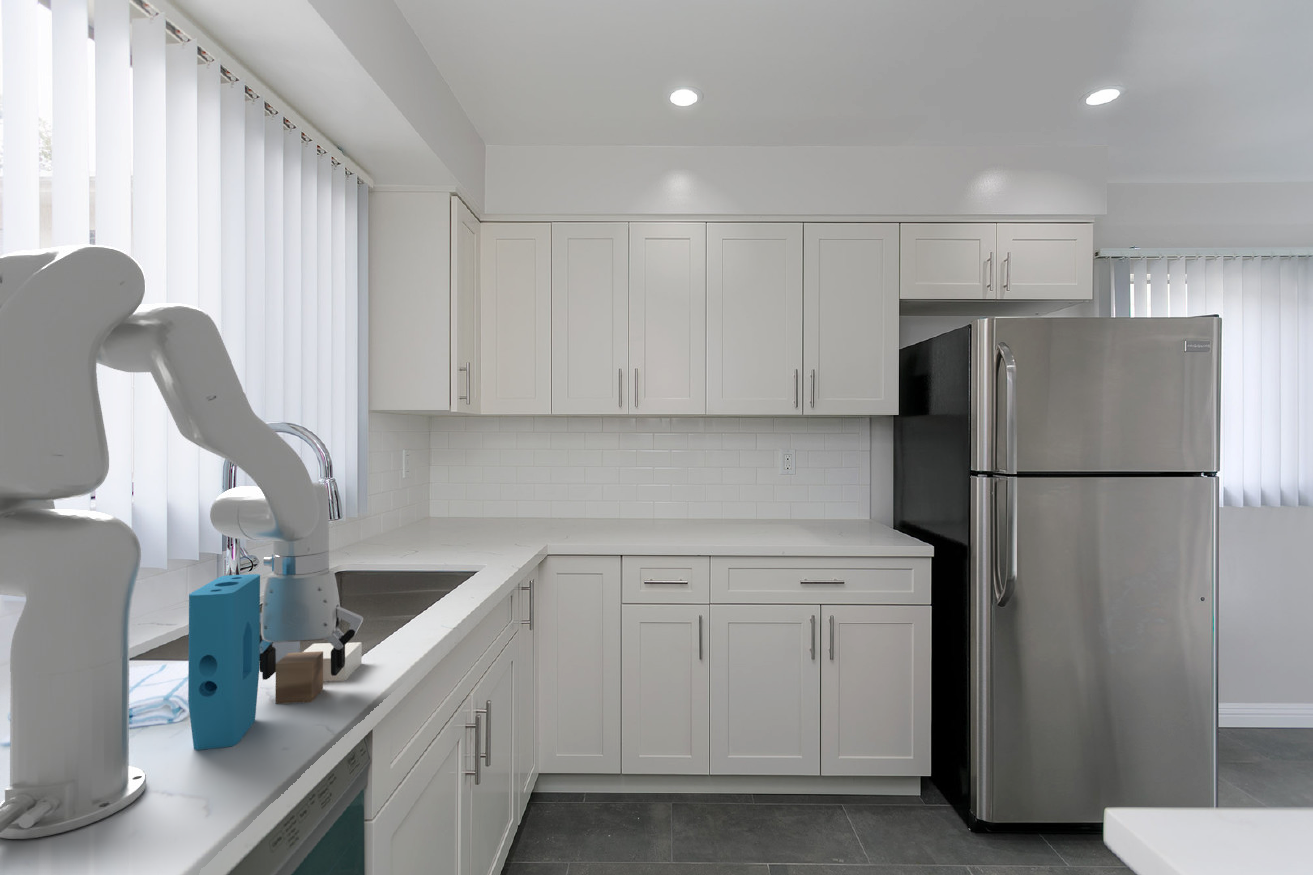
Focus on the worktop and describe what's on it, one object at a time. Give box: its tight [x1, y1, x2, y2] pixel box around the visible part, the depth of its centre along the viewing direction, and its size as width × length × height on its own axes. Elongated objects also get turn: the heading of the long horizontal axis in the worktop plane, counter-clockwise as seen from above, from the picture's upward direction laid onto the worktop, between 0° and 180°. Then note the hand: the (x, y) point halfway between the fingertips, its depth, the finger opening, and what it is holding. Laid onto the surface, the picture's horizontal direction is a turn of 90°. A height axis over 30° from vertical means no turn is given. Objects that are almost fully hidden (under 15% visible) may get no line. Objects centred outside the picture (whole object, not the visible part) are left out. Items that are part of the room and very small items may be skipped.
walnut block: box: [274, 651, 324, 705], centre depth 100 cm, size 5×5×6 cm
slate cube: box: [272, 641, 301, 663], centre depth 116 cm, size 5×5×5 cm
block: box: [187, 573, 261, 751], centre depth 87 cm, size 12×5×20 cm, turn 16°
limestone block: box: [302, 642, 363, 682], centre depth 110 cm, size 8×8×4 cm
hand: (303, 674), depth 101 cm, fingers open, 9 cm apart
